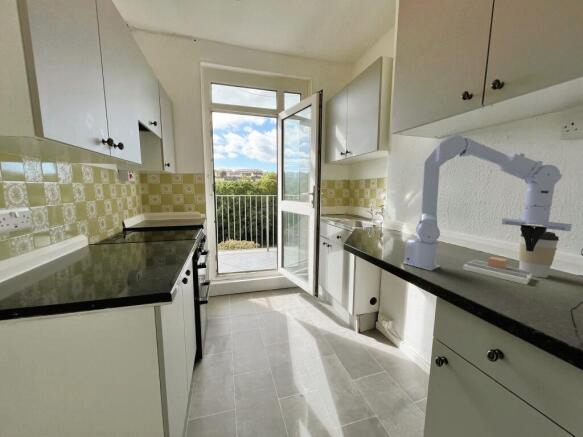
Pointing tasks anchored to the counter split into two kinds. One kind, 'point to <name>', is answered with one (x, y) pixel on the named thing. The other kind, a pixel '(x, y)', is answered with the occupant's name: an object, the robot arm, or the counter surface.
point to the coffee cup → (538, 255)
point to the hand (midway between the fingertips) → (529, 250)
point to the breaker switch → (497, 263)
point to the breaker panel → (499, 271)
